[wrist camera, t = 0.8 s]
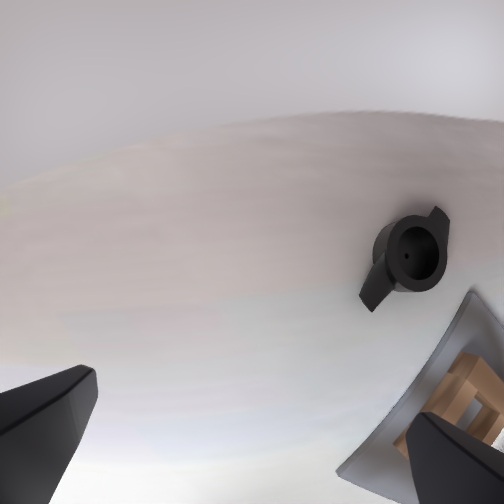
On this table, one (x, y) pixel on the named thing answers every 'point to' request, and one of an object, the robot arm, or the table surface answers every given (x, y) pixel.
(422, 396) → the block
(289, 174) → the table surface
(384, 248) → the black hollow winged cylinder
